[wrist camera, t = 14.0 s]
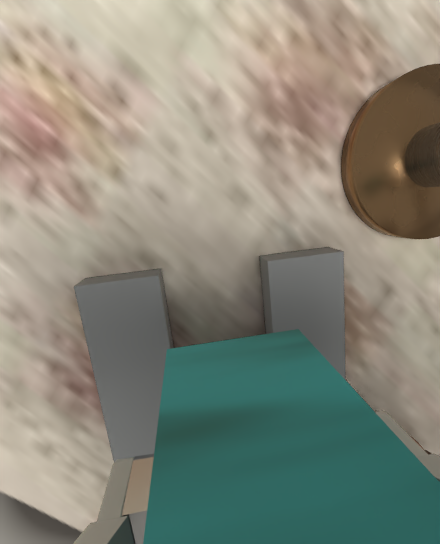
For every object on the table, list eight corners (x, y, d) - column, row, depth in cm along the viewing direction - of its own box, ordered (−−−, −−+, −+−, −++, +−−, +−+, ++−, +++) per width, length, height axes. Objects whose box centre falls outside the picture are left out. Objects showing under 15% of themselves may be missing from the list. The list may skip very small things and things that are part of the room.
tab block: (303, 439, 11) (485, 793, 4) (185, 461, 11) (186, 886, 4) (298, 328, 10) (522, 572, 3) (166, 349, 10) (127, 669, 3)
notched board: (333, 445, 24) (346, 466, 22) (130, 483, 22) (124, 509, 20) (328, 247, 20) (343, 251, 18) (85, 278, 19) (73, 286, 17)
